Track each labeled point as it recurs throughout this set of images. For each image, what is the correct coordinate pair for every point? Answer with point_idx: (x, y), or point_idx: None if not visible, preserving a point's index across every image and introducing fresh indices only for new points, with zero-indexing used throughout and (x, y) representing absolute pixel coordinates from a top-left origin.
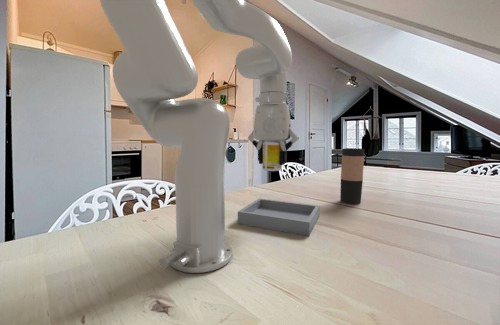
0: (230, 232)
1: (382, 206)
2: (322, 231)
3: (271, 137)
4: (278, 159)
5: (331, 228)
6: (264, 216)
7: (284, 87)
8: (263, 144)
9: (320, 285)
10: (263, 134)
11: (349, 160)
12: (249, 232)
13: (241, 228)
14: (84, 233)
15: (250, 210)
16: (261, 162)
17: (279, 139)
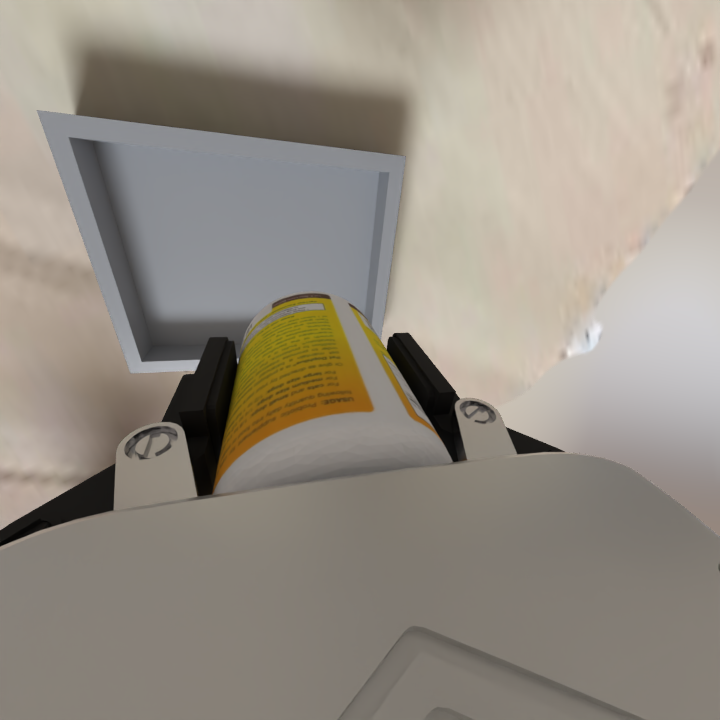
0: (385, 39)
1: (4, 527)
2: (56, 201)
3: (323, 518)
4: (242, 364)
5: (42, 250)
6: (280, 141)
7: None
8: (438, 437)
9: None
10: (533, 550)
11: None
12: (316, 70)
13: (360, 108)
14: None
15: (374, 254)
16: (391, 339)
17: (127, 512)
